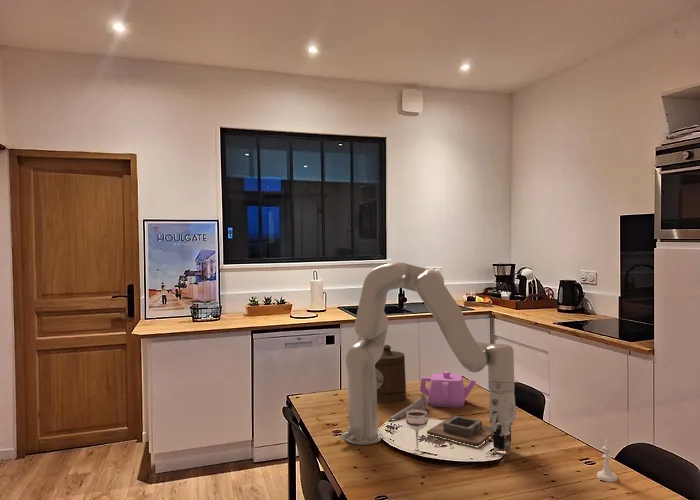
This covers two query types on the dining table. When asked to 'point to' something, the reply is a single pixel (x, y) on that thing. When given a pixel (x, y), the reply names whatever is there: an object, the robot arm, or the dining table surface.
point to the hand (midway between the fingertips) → (502, 444)
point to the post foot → (462, 430)
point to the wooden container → (390, 376)
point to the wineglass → (416, 420)
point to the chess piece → (606, 466)
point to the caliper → (412, 407)
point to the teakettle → (446, 389)
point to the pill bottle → (505, 439)
